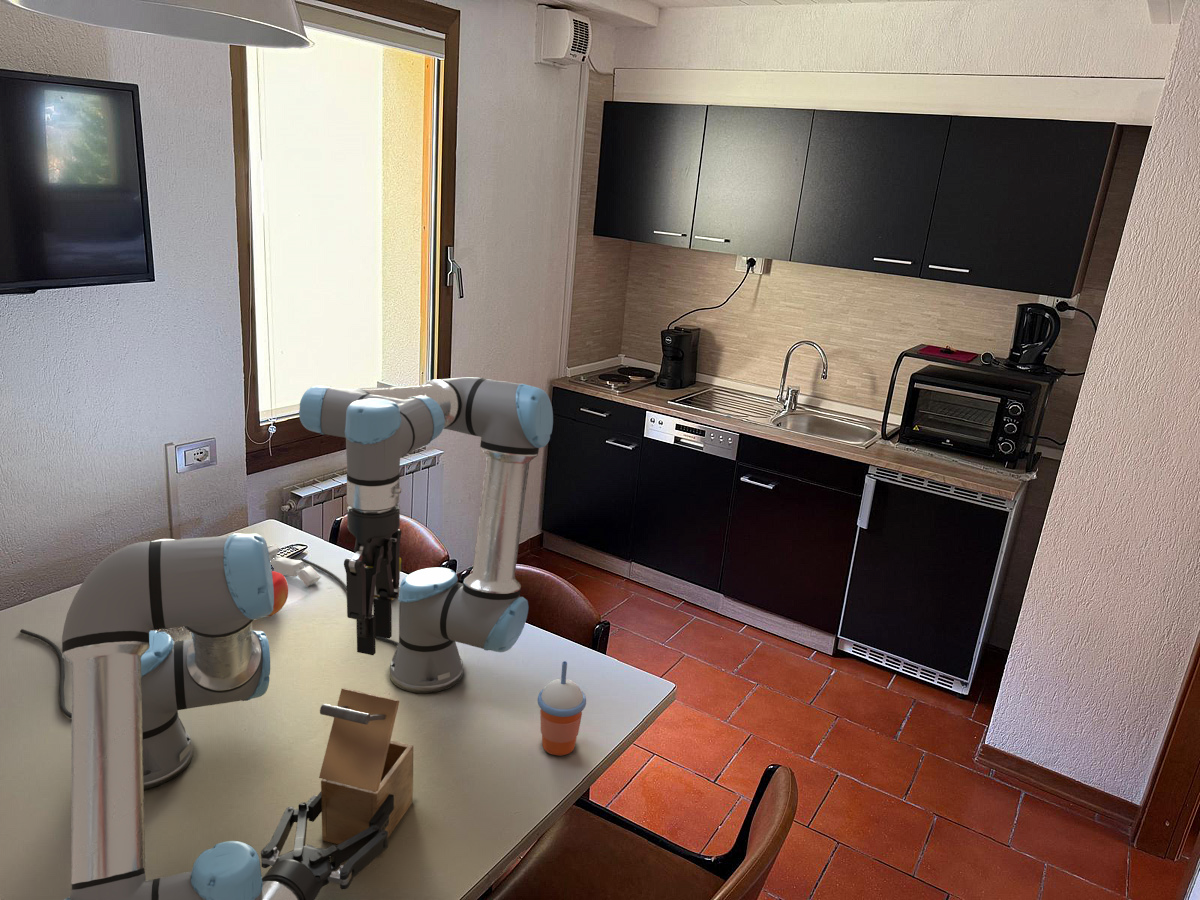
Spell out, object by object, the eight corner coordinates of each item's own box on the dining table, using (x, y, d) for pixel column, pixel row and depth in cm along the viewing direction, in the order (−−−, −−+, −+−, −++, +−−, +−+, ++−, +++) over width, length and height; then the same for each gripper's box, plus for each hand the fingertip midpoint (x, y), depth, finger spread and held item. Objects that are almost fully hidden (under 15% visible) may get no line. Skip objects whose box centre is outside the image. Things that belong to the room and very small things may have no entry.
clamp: (253, 565, 223) (254, 542, 221) (265, 560, 226) (266, 537, 224) (309, 593, 215) (310, 569, 213) (320, 588, 218) (321, 564, 216)
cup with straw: (576, 765, 157) (583, 680, 152) (528, 755, 159) (534, 670, 154) (587, 736, 166) (594, 654, 161) (541, 727, 167) (547, 646, 162)
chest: (361, 789, 147) (361, 733, 144) (412, 801, 145) (413, 745, 142) (322, 840, 135) (320, 780, 132) (376, 854, 133) (376, 794, 130)
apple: (273, 600, 207) (272, 562, 204) (297, 613, 202) (296, 575, 199) (237, 614, 200) (234, 575, 197) (261, 628, 194) (259, 588, 191)
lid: (344, 688, 135) (318, 688, 127) (399, 700, 133) (376, 701, 125) (322, 777, 132) (294, 783, 124) (378, 790, 130) (353, 798, 122)
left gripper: (209, 902, 119) (300, 798, 140) (354, 944, 114) (426, 829, 135) (206, 858, 117) (299, 759, 137) (353, 899, 112) (426, 790, 133)
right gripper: (367, 530, 117) (368, 679, 124) (423, 489, 133) (421, 622, 140) (317, 522, 118) (322, 668, 125) (378, 482, 135) (379, 613, 142)
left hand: (362, 794), depth 136 cm, fingers closed on chest, 9 cm apart
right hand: (374, 643), depth 133 cm, fingers open, 5 cm apart
